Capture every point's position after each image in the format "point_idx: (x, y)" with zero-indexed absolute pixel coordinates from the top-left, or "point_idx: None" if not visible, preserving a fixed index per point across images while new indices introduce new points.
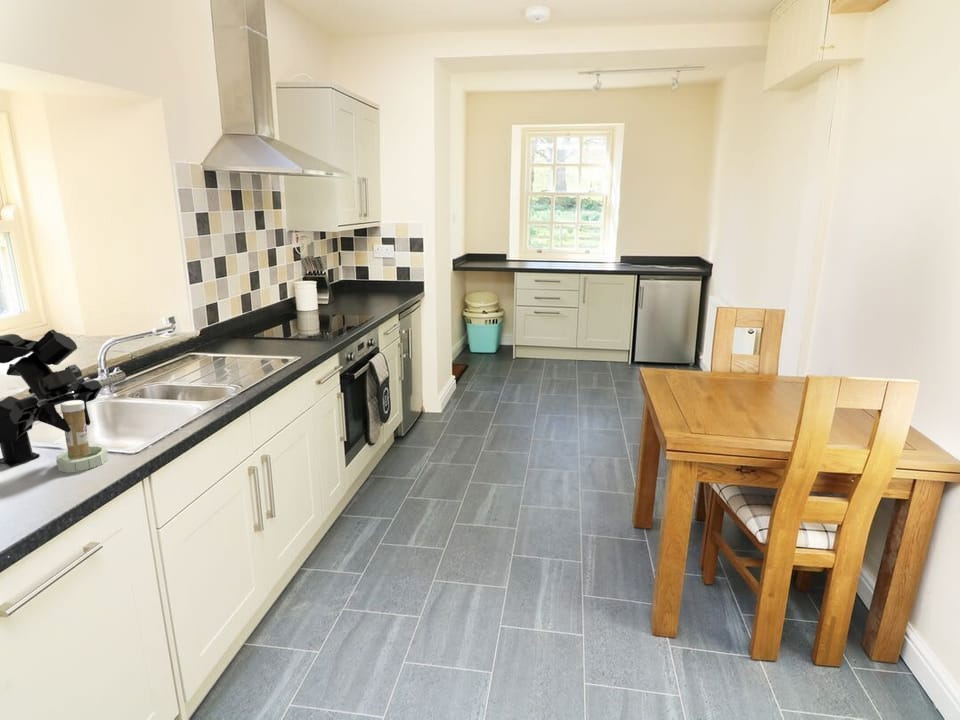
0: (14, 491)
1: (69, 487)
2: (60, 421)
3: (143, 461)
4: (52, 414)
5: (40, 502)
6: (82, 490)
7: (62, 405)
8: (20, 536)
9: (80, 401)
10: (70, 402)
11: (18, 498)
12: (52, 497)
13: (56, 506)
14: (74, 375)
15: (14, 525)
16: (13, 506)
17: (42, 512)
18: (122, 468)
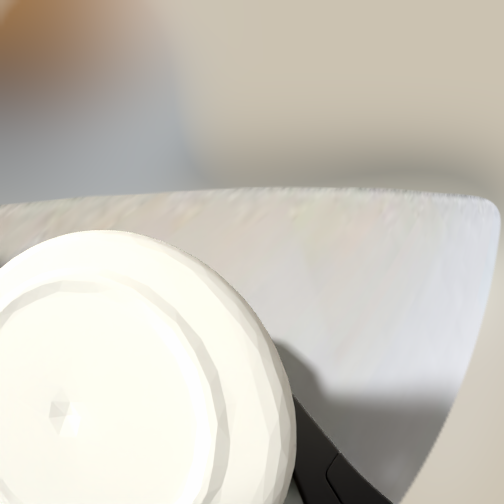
0: (430, 427)
1: (364, 283)
2: (318, 429)
3: (150, 201)
4: (381, 500)
5: (439, 283)
6: (361, 231)
7: (290, 466)
8: (490, 205)
9: (4, 296)
10: (82, 444)
11: (450, 366)
12: (415, 277)
13: (429, 228)
14: None
15: (490, 246)
16: (471, 331)
17: (453, 236)
18: (209, 226)
